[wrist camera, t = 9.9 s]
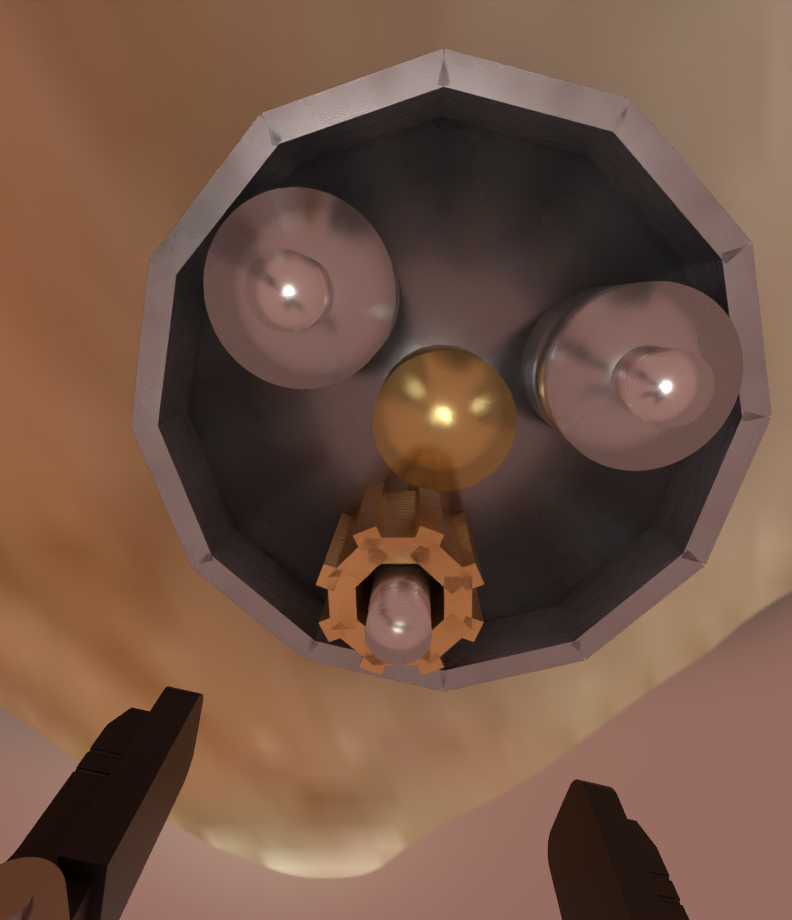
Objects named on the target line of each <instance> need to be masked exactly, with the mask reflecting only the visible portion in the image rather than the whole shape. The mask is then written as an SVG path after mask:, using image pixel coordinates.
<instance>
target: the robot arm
mask: <svg viewBox="0 0 792 920" xmlns="http://www.w3.org/2000/svg"><path fill="white" fill-rule="evenodd" d="M202 703H203V694H200V693H195V692H191V691H187V690H182V689H178V688H173V687H169V686H168V687H166V688H165V689H164V691H163V692H162V693H161V695H160V697H159V698H158V700H157V701H156V703H155V704H154V706H153V708H152V709H151V711H150V712H149V711H145V710H140V709H136V708H130V709H129V710H127V711H126V712H124V713H123V714H122V715H120V716H119V717H117V718H116V719H115V720H113V721H112V722H110V723H109V724H107V726H106V727H105V728H104V730H103V731H102V733H101V734H100V735H99V737H98V738H97V740H96V741H95V742H94V744H93V745H92V746H91V749H90V751H89V752H87V753H86V755H85V756H84V758H83V759H82V760H81V762H80V763H79V764H78V766H77V769H76V771H75V772H73V773H72V774H71V776H70V777H69V778H68V780H67V781H66V783H65V784H64V785H63V787H62V788H61V790H60V791H59V792H58V794H57V795H56V796H55V798H54V799H53V801H52V802H51V803H50V805H49V806H48V808H47V809H46V810H45V812H44V813H43V814H42V816H41V817H40V819H39V820H38V822H37V823H36V824H35V826H34V827H33V829H32V830H31V831H30V833H29V834H28V835H27V837H26V838H25V840H24V841H23V842H22V844H21V845H20V847H19V848H18V849H17V850H16V851H15V853H14V854H13V855H12V856H11V857H10V858H9V859H8V860H7V861H6V862H4V863H2V864H0V920H119V919H120V917H121V915H122V912H123V910H124V908H125V906H126V904H127V902H128V900H129V898H130V895H131V893H132V891H133V889H134V887H135V885H136V883H137V881H138V878H139V877H140V874H141V872H142V870H143V868H144V866H145V864H146V862H147V859H148V857H149V855H150V853H151V851H152V849H153V847H154V845H155V843H156V841H157V838H158V836H159V834H160V832H161V830H162V828H163V826H164V824H165V822H166V820H167V817H168V815H169V813H170V811H171V809H172V807H173V805H174V803H175V801H176V798H177V796H178V794H179V792H180V790H181V788H182V786H183V783H184V781H185V779H186V776H187V773H188V771H189V768H190V764H191V761H192V758H193V754H194V749H195V743H196V738H197V732H198V726H199V721H200V715H201V709H202ZM548 862H549V868H550V872H551V876H552V880H553V884H554V888H555V892H556V896H557V901H558V904H559V908H560V913H561V917H562V920H689V918H688V916H687V914H686V912H685V909H684V907H683V905H680V898H679V896H678V894H677V892H676V889H675V887H674V885H673V883H672V881H670V880H669V874H668V871H667V869H666V867H665V865H664V863H663V860H662V858H661V856H660V854H659V851H658V849H657V847H656V846H655V845H654V843H653V842H652V841H651V840H650V838H649V837H648V836H647V834H646V833H645V832H644V830H643V829H642V828H641V826H640V825H639V824H638V823H637V821H634V820H629V819H627V817H626V815H625V813H624V810H623V808H622V805H621V803H620V801H619V798H618V796H617V794H616V792H615V791H614V789H612V788H611V787H608V786H604V785H600V784H595V783H590V782H586V781H582V780H577V779H576V780H574V781H573V782H572V783H571V785H570V787H569V790H568V792H567V794H566V796H565V799H564V801H563V803H562V806H561V808H560V810H559V812H558V815H557V817H556V820H555V822H554V824H553V826H552V829H551V832H550V835H549V840H548Z"/></svg>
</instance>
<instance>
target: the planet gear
mask: <svg viewBox="0 0 792 920" xmlns="http://www.w3.org/2000/svg"><path fill="white" fill-rule="evenodd" d="M415 563H418V564H419V565H420V566H421V567H422V568H423V569H424V570H426V571H427V572H428V573H429V587H430V608H431V629H432V641H431V645H430V647H429V649H428V651H427V652H426V653H425V655H424V656H423V657H421V658H420V659H419V660H417V661H415V662H413V663H410V664H406V665H417V666H418V668H419V670H420V672H421V674H422V675H424V674H427V673H430V672H433V671H435V670H438V669H441V668H444V657H443V654H444V653H445V652H446V651H447V650H449V649H450V648H451V647H452V646H453V645H454V644H455V643H457V642H458V641H459V640H460V639H461V638H464V639H467V640H469V641H472V642H474V641H475V639H476V637H477V635H478V633H479V631H480V629H481V627H482V625H483V623H484V621H483V617H482V612H481V607H480V603H479V598H478V593H477V589H476V587H478V586H481V585H484V580H483V576H482V572H481V568H480V564H479V560H478V556H477V552H476V547H475V543H474V539H473V535H472V531H471V528H470V526H469V523H468V521H467V519H466V517H465V514H464V512H461V513H458V514H456V515H452V514H451V513H450V512H449V511H448V510H447V509H446V508H445V507H444V506H443V505H442V504H440V496H439V491H432V490H426V489H423V488H420V487H417V488H416V491H388V489H387V487H386V485H385V482H382V483H380V484H377V485H375V486H372V487H370V488H368V489H365V493H364V497H363V500H362V504H361V507H360V509H359V510H358V511H357V512H356V513H355V514H354V515H353V516H350V515H347V514H344V513H342V514H341V517H340V520H339V522H338V525H337V527H336V530H335V533H334V536H333V538H332V541H331V544H330V547H329V549H328V552H327V555H326V558H325V561H324V563H323V566H322V569H321V572H320V574H319V577H318V580H317V583H316V585H317V586H320V587H323V588H326V589H328V593H327V596H326V600H325V603H324V606H323V609H322V612H321V616H320V619H319V622H318V623H319V625H320V626H321V628H322V630H323V632H324V634H325V636H326V638H327V639H328V641H329V642H331V641H333V640H336V639H339V638H341V639H342V640H343V641H345V642H346V643H347V644H348V645H350V646H351V647H352V648H353V649H354V650H356V651H357V652H358V653H359V654H360V655H361V659H360V666H359V667H360V668H363V669H366V670H369V671H371V672H374V673H377V674H380V675H382V673H383V671H384V668H385V666H386V665H393V664H388V663H385V662H383V661H381V660H379V659H378V658H376V657H375V656H374V655H373V654H372V653H371V652H370V650H369V649H368V647H367V644H366V641H365V629H366V622H367V616H368V610H369V603H370V597H371V591H372V584H373V578H374V571H375V568H376V567H378V566H379V565H380V564H415Z"/></svg>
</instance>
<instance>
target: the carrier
mask: <svg viewBox="0 0 792 920" xmlns="http://www.w3.org/2000/svg"><path fill="white" fill-rule="evenodd" d="M630 99H631V98H627V97H623V96H620V95H616V94H612V93H608V92H605V91H601V90H597V89H594V88H590V87H586V86H582V85H579V84H575V83H571V82H568V81H564V80H560V79H556V78H553V77H549V76H545V75H542V74H538V73H534V72H530V71H527V70H523V69H519V68H516V67H512V66H508V65H504V64H501V63H497V62H493V61H490V60H486V59H482V58H478V57H475V56H471V55H467V54H464V53H460V52H456V51H452V50H449V49H445V54H443V50H442V49H440V50H438V51H435V52H432V53H429V54H426V55H423V56H421V57H418V58H415V59H412V60H409V61H407V62H404V63H401V64H398V65H395V66H393V67H390V68H387V69H384V70H381V71H378V72H376V73H373V74H370V75H367V76H364V77H362V78H359V79H356V80H353V81H350V82H347V83H345V84H342V85H339V86H336V87H333V88H331V89H328V90H325V91H322V92H319V93H317V94H314V95H311V96H308V97H305V98H302V99H300V100H297V101H294V102H291V103H288V104H286V105H283V106H280V107H277V108H274V109H272V110H269V111H266V112H263V113H262V114H263V117H264V119H263V118H262V117H261V116H260V115H259V116H258V117H257V119H256V120H255V121H254V123H253V124H252V125H251V127H250V128H249V129H248V131H247V132H246V133H245V134H244V136H243V137H242V138H241V140H240V141H239V142H238V144H237V145H236V146H235V148H234V149H233V150H232V151H231V153H230V154H229V155H228V157H227V158H226V159H225V161H224V162H223V163H222V165H221V166H220V167H219V168H218V170H217V171H216V172H215V174H214V175H213V176H212V178H211V179H210V180H209V182H208V183H207V184H206V185H205V187H204V188H203V189H202V191H201V192H200V193H199V195H198V196H197V197H196V199H195V200H194V201H193V202H192V204H191V205H190V206H189V208H188V209H187V210H186V212H185V213H184V214H183V216H182V217H181V218H180V219H179V221H178V222H177V223H176V225H175V226H174V227H173V229H172V230H171V231H170V233H169V234H168V235H167V236H166V238H165V239H164V240H163V242H162V243H161V244H160V246H159V247H158V248H157V250H156V251H155V252H154V253H153V255H152V256H151V257H150V259H151V260H153V261H154V262H152V261H149V264H148V273H147V282H146V292H145V301H144V310H143V319H142V329H141V338H140V347H139V356H138V366H137V375H136V384H135V393H134V402H133V412H132V421H131V425H134V427H132V430H133V432H134V434H135V437H136V439H137V441H138V444H139V446H140V448H141V451H142V453H143V455H144V458H145V460H146V462H147V465H148V467H149V469H150V472H151V474H152V476H153V479H154V481H155V483H156V486H157V488H158V490H159V493H160V495H161V497H162V500H163V502H164V504H165V507H166V509H167V511H168V514H169V516H170V518H171V521H172V523H173V525H174V528H175V530H176V532H177V535H178V537H179V539H180V542H181V544H182V546H183V549H184V551H185V553H186V556H187V558H188V560H189V563H190V565H191V566H194V567H193V569H194V570H195V571H196V572H198V573H199V574H200V575H201V576H203V577H204V578H205V579H206V580H207V581H209V582H210V583H211V584H212V585H214V586H215V587H216V588H217V589H219V590H220V591H221V592H222V593H223V594H225V595H226V596H227V597H228V598H230V599H231V600H232V601H233V602H234V603H236V604H237V605H238V606H239V607H241V608H242V609H243V610H244V611H246V612H247V613H248V614H249V615H250V616H252V617H253V618H254V619H255V620H257V621H258V622H259V623H260V624H261V625H263V626H264V627H265V628H266V629H268V630H269V631H270V632H271V633H273V634H274V635H275V636H276V637H277V638H279V639H280V640H281V641H282V642H284V643H285V644H286V645H287V646H288V647H290V648H291V649H292V650H293V651H295V652H296V653H297V654H298V655H300V656H301V657H302V658H305V657H306V660H309V661H313V662H318V663H322V664H326V665H331V666H335V667H339V668H344V669H348V670H352V671H357V672H361V673H365V674H370V675H374V676H378V677H383V678H387V679H391V680H396V681H400V682H404V683H409V684H413V685H417V686H422V687H426V688H430V689H435V690H439V691H442V690H443V688H444V691H448V690H453V689H457V688H462V687H466V686H471V685H475V684H480V683H484V682H489V681H493V680H498V679H502V678H507V677H511V676H516V675H520V674H525V673H529V672H534V671H538V670H543V669H547V668H552V667H557V666H561V665H566V664H570V663H575V662H579V661H584V657H585V658H586V659H587V658H589V657H590V656H591V655H593V654H594V653H595V652H596V651H598V650H599V649H600V648H601V647H603V646H604V645H605V644H606V643H608V642H609V641H610V640H611V639H613V638H614V637H615V636H617V635H618V634H619V633H620V632H622V631H623V630H624V629H625V628H627V627H628V626H629V625H630V624H632V623H633V622H634V621H635V620H637V619H638V618H639V617H641V616H642V615H643V614H644V613H646V612H647V611H648V610H649V609H651V608H652V607H653V606H654V605H656V604H657V603H658V602H659V601H661V600H662V599H663V598H665V597H666V596H667V595H668V594H670V593H671V592H672V591H673V590H675V589H676V588H677V587H678V586H680V585H681V584H682V583H683V582H685V581H686V580H687V579H689V578H690V577H691V576H692V575H694V574H695V573H696V572H697V571H699V570H700V569H701V568H702V567H704V566H703V565H702V564H701V563H703V564H706V562H707V560H708V558H709V556H710V553H711V551H712V549H713V547H714V544H715V542H716V540H717V538H718V536H719V533H720V531H721V529H722V527H723V524H724V522H725V520H726V518H727V515H728V513H729V511H730V509H731V506H732V504H733V502H734V500H735V497H736V495H737V493H738V491H739V488H740V486H741V484H742V482H743V479H744V477H745V475H746V473H747V470H748V468H749V466H750V464H751V462H752V459H753V457H754V455H755V453H756V450H757V448H758V446H759V444H760V441H761V439H762V437H763V435H764V432H765V430H766V428H767V426H768V423H769V421H770V419H771V418H770V417H767V416H769V415H771V406H770V397H769V388H768V380H767V371H766V362H765V353H764V344H763V335H762V326H761V317H760V308H759V299H758V290H757V281H756V272H755V264H754V255H753V246H752V244H750V245H748V244H749V243H750V242H751V240H750V239H749V238H748V237H747V236H746V234H745V233H744V232H743V231H742V230H741V228H740V227H739V226H738V225H737V224H736V223H735V221H734V220H733V219H732V218H731V217H730V215H729V214H728V213H727V212H726V211H725V209H724V208H723V207H722V206H721V205H720V203H719V202H718V201H717V200H716V199H715V197H714V196H713V195H712V194H711V193H710V191H709V190H708V189H707V188H706V187H705V185H704V184H703V183H702V182H701V181H700V179H699V178H698V177H697V176H696V175H695V173H694V172H693V171H692V170H691V169H690V167H689V166H688V165H687V164H686V163H685V161H684V160H683V159H682V158H681V157H680V155H679V154H678V153H677V152H676V151H675V149H674V148H673V147H672V146H671V145H670V143H669V142H668V141H667V140H666V139H665V137H664V136H663V135H662V134H661V133H660V131H659V130H658V129H657V128H656V127H655V125H654V124H653V123H652V122H651V121H650V119H649V118H648V117H647V116H646V115H645V113H644V112H643V111H642V110H641V109H640V107H639V106H638V105H637V104H636V103H635V101H634V100H633V101H632V102H631V103H630V104H629V102H630ZM382 482H385V485H386V487H387V489H388V491H416V488H417V487H420V488H423V489H426V490H432V491H439V496H440V504H442V505H443V506H444V507H445V508H446V509H447V510H448V511H449V512H450V513H451V514H452V515H456V514H458V513H461V512H464V514H465V517H466V519H467V521H468V523H469V526H470V528H471V531H472V535H473V539H474V543H475V547H476V552H477V556H478V560H479V564H480V568H481V572H482V576H483V580H484V585H481V586H478V587H476V589H477V593H478V598H479V603H480V607H481V612H482V617H483V621H484V623H483V625H482V627H481V629H480V631H479V633H478V635H477V637H476V639H475V641H474V642H472V641H469V640H467V639H464V638H461V639H460V640H459V641H458V642H457V643H455V644H454V645H453V646H452V647H451V648H450V649H449V650H447V651H446V652H445V653H444V654H443V657H444V668H441V669H438V670H435V671H433V672H430V673H427V674H424V675H422V674H421V672H420V670H419V668H418V666H417V665H406V664H410V663H413V662H415V661H417V660H419V659H420V658H421V657H423V656H424V655H425V653H426V652H427V651H428V649H429V647H430V645H431V641H432V629H431V608H430V587H429V573H428V572H427V571H426V570H424V569H423V568H422V567H421V566H420V565H419V564H418V563H415V564H380V565H379V566H378V567H376V568H375V571H374V578H373V584H372V591H371V597H370V603H369V610H368V616H367V622H366V629H365V641H366V644H367V647H368V649H369V650H370V652H371V653H372V654H373V655H374V656H375V657H376V658H378V659H379V660H381V661H383V662H385V663H388V664H393V665H386V666H385V668H384V671H383V673H382V675H380V674H377V673H374V672H371V671H369V670H366V669H363V668H360V667H359V666H360V659H361V655H360V654H359V653H358V652H357V651H356V650H354V649H353V648H352V647H351V646H350V645H348V644H347V643H346V642H345V641H343V640H342V639H341V638H339V639H336V640H333V641H331V642H329V641H328V639H327V638H326V636H325V634H324V632H323V630H322V628H321V626H320V625H319V623H318V622H319V619H320V616H321V612H322V609H323V606H324V603H325V600H326V596H327V593H328V589H326V588H323V587H320V586H317V585H316V583H317V580H318V577H319V574H320V572H321V569H322V566H323V563H324V561H325V558H326V555H327V552H328V549H329V547H330V544H331V541H332V538H333V536H334V533H335V530H336V527H337V525H338V522H339V520H340V517H341V514H342V513H344V514H347V515H350V516H353V515H354V514H355V513H356V512H357V511H358V510H359V509H360V507H361V504H362V500H363V497H364V493H365V489H368V488H370V487H372V486H375V485H377V484H380V483H382Z"/></svg>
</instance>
